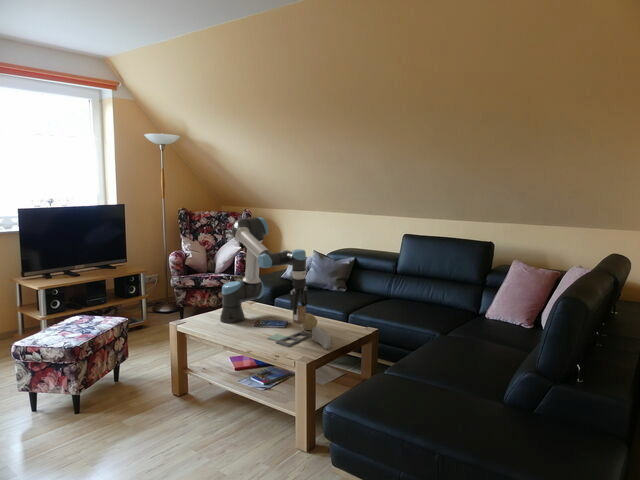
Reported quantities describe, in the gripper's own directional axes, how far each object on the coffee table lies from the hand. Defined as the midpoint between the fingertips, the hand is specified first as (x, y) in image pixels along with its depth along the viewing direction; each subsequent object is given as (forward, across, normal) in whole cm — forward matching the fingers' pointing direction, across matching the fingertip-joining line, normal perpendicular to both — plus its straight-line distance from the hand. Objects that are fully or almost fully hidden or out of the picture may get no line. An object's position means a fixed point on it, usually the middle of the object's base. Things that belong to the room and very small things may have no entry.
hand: (299, 318), depth 269 cm
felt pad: (+11, -8, +9) cm, 16 cm away
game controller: (+11, -2, -17) cm, 20 cm away
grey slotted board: (+11, -4, 0) cm, 12 cm away
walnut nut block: (+2, 0, 0) cm, 2 cm away
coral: (+11, +14, +4) cm, 18 cm away
